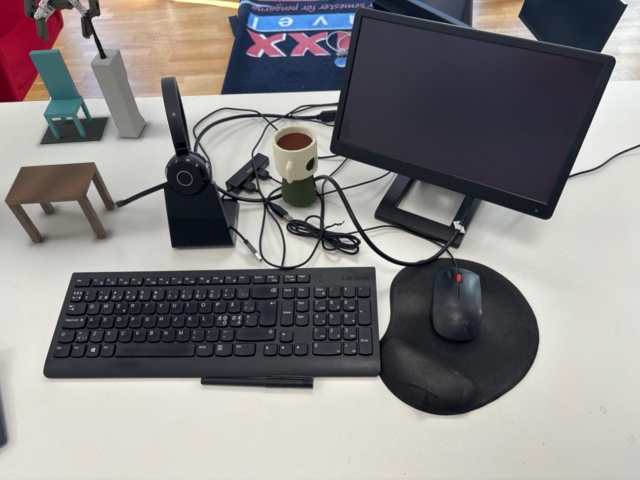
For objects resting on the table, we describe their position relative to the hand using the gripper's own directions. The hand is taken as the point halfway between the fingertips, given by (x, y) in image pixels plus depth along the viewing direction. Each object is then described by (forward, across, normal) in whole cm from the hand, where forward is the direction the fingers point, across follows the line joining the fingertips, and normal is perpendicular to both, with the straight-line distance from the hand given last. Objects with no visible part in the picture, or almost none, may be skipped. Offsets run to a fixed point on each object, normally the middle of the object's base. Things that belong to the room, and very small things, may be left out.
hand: (65, 38), depth 106 cm
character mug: (+35, +46, -16) cm, 60 cm away
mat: (+18, 0, 0) cm, 19 cm away
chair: (+18, 0, 0) cm, 18 cm away
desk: (+37, +7, -19) cm, 42 cm away
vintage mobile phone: (+20, +12, 0) cm, 23 cm away
